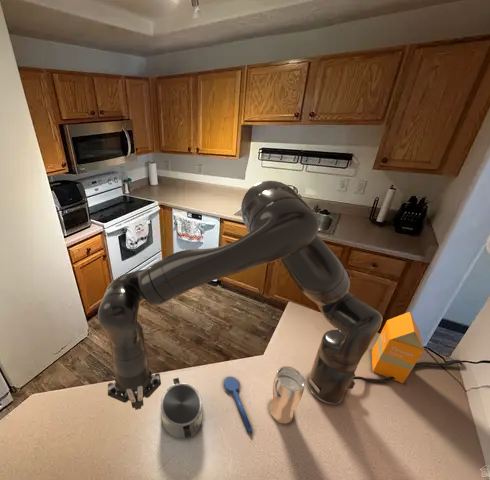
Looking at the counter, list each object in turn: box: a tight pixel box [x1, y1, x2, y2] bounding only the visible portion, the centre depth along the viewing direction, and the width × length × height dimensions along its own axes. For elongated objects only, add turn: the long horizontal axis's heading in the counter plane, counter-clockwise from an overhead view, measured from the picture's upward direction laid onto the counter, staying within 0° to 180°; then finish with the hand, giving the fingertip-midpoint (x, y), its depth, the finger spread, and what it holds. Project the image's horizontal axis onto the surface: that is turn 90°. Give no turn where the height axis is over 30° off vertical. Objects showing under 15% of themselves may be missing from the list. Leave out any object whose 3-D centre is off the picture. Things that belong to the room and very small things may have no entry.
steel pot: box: [160, 377, 203, 439], centre depth 70 cm, size 11×15×6 cm
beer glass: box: [269, 365, 306, 424], centre depth 68 cm, size 7×7×15 cm
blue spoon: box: [223, 376, 253, 433], centre depth 73 cm, size 4×15×1 cm, turn 12°
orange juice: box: [371, 311, 425, 384], centre depth 77 cm, size 8×9×20 cm
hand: (138, 405), depth 65 cm, fingers closed
